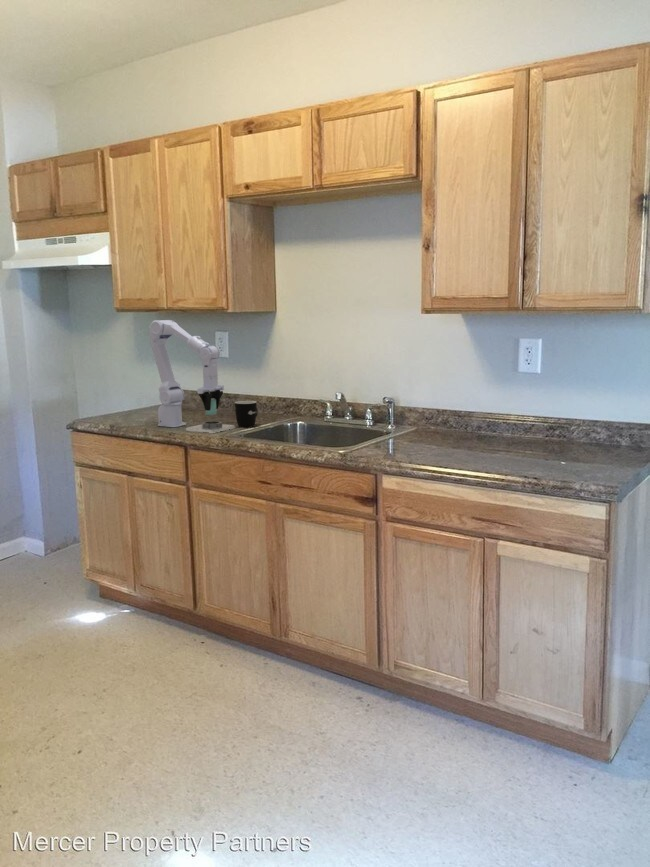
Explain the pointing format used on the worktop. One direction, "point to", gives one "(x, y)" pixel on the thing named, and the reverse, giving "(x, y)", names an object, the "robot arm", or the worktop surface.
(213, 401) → the knob
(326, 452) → the worktop surface
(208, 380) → the robot arm
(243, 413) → the mug
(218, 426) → the panel
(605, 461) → the worktop surface
